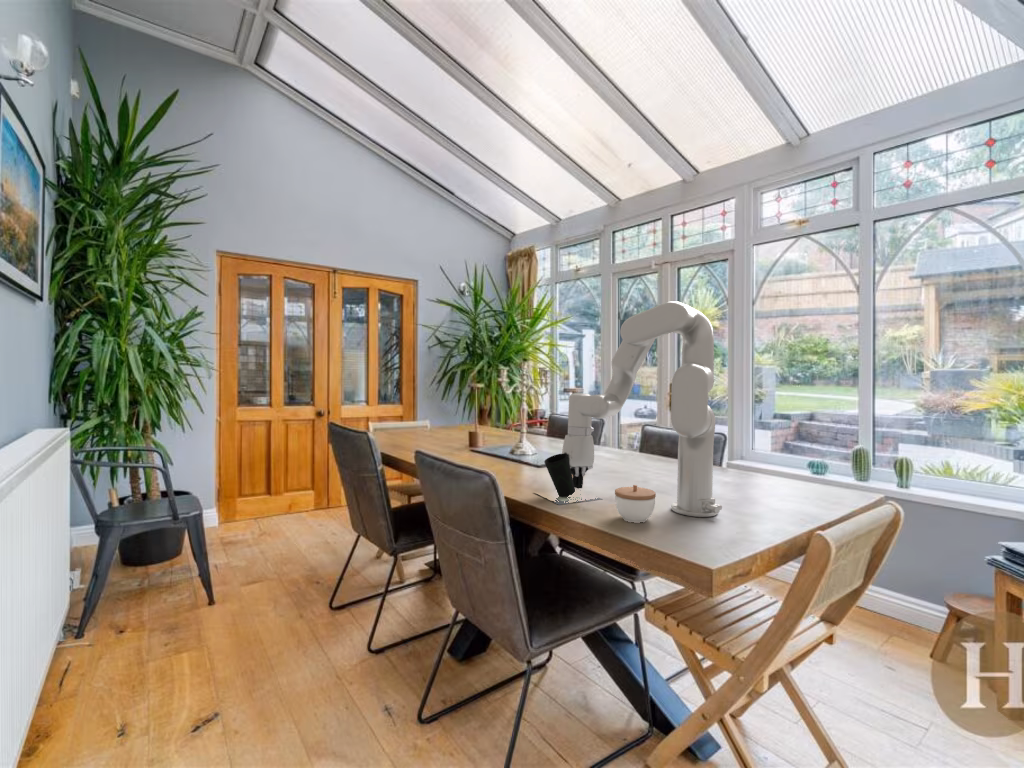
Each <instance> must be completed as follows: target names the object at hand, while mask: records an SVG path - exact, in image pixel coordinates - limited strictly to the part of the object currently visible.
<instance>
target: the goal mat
mask: <svg viewBox="0 0 1024 768" xmlns="http://www.w3.org/2000/svg"><path fill="white" fill-rule="evenodd" d="M580 495H581V494H580ZM567 497H568V496H566V497H560V496H559V497H558V498H556V499H557V500H558V501H559V502H558V501H557V500H555V501H556V502H554V503H553V504H555V503H556V504H555V505H557V504H558V506H562V504H564V505H570V504H569V502H568V501H569V499H570V498H571V497H568V498H569V499H568V498H567ZM573 498H574V497H573ZM576 498H577V499H578V498H579V499H580V497H576ZM576 498H575V500H576ZM599 499H601V500H602V498H601V497H598V498H597V499H596V498H595V500H594V501H599ZM570 500H572V499H570ZM573 500H574V499H573ZM581 500H582V497H581ZM585 500H586V499H585ZM592 500H593V499H592ZM592 500H591V499H590V500H588V501H587V500H586V502H591V501H592ZM564 501H565V503H564ZM577 501H578V500H577ZM577 501H576V503H575V504H578V503H577ZM566 502H568V503H566ZM578 502H579V501H578ZM592 502H593V501H592ZM579 503H583V502H582V501H580V502H579Z"/></svg>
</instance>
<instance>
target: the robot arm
mask: <svg viewBox="0 0 1024 768" xmlns="http://www.w3.org/2000/svg"><path fill="white" fill-rule="evenodd" d="M619 332H620V337H621V339H622V340H621V343H620V344H619V345H618V346H619V347H618V348H617V350H616V351H615V353H614V355H613V357H612V359H611V368H612V377H611V380H610V382H609V384H608V386H607V388H606V390H605V392H604V393H601V394H593V395H592V394H589V393H582V392H580V393H579V392H577V393H575V392H574V393H570V395H569V398H568V413H567V414H568V418H567V434H565V435H564V436H565V437H564V440H563V443H562V444H563V445H562V452H561V454H567V455H568V460H569V464H570V469H571V473H572V478H573V482H574V487H575V489H578V490H580V489H583V485H584V477H585V475H586V473H587V471H589V470H592V469H593V468H594V466H593V465H594V462H595V445H594V444H595V443H594V437H593V435H592V433H593V432H594V431H595V428H594V427H592V419H593V418H594V419H605V418H610V417H614V416H616V415H617V414H618V413H619V412H620V411H621V410H622V408H623V406H624V405H625V402H626V401H627V399H628V398H629V396H630V393H631V392H632V389H633V386H634V383H635V381H636V377H637V374H638V371H639V369H640V368H641V365H642V364H643V362H644V360H645V358H646V357H647V355H648V354H649V351H650V349H651V348H652V346H653V344H654V342H655V340H656V339H657V338H659V337H662V336H665V335H668V334H671V333H675V334H677V335H678V334H679V335H681V337H682V349H681V350H682V352H681V366H679V367H678V368H677V369H676V370H675V372H674V373H673V377H672V380H671V391H670V392H671V393H670V394H671V396H670V397H671V400H670V421H671V422H670V423H671V426H672V428H673V431H675V433H676V434H678V442H677V443H678V445H677V479H676V480H677V488H676V489H677V490H676V494H677V495H676V502H673V503H672V504H671V507H670V509H671V510H672V511H673V512H674V513H677V514H680V515H682V516H688V517H696V518H698V517H699V518H706V517H708V518H709V517H713V516H716V515H718V514H719V513H720V511H722V509H723V506H722V505H721V504H718V503H716V498H715V497H713V486H714V485H713V484H714V483H713V481H714V480H713V478H714V476H713V475H714V446H715V445H714V443H715V442H714V441H715V431H716V416H715V412H714V410H713V409H712V408H711V407H710V405H708V404H709V393H710V392H711V390H712V389H713V387H714V382H715V379H714V377H715V375H714V373H715V372H714V371H715V370H714V368H715V367H714V366H715V365H714V363H715V354H714V351H715V347H714V346H715V339H714V329H713V326H712V324H711V321H710V320H709V318H707V316H706V315H704V314H703V313H702V312H701V311H699V310H697V309H695V308H693V307H691V306H690V305H688V304H685V303H682V302H680V301H676V300H675V301H674V300H673V301H668V302H667V301H666V302H664V303H660V304H659V305H657V306H654V307H651V308H649V309H646V310H644V311H641V312H639V313H637V314H634V315H632V316H630V317H628V318H627V319H625V320H624V322H623V323H622V324H621V327H620V331H619Z"/></svg>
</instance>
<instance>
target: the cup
mask: <svg viewBox="0 0 1024 768" xmlns="http://www.w3.org/2000/svg"><path fill="white" fill-rule="evenodd" d="M543 462H544V464H545V467H546V470H547V472H548V474H549V476H550V479H551V481H552V483H553V485H554V488H555V490H557V493H558V495H559V496H560V497H566V496H569V495H572V494H573V493H574V492H575V489H576V488H575V487H574V482H573V475H572V473H571V469H570V464H569V460H568V455H567V454H562V453H558V454H554V455H552V456H549V457H547V458H546V459H545V460H544V461H543Z"/></svg>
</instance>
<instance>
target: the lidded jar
mask: <svg viewBox="0 0 1024 768" xmlns="http://www.w3.org/2000/svg"><path fill="white" fill-rule="evenodd" d="M614 495H615V497H614V498H615V500H614V502H615V508H616V510H617V513H618V514H619V515H620V516H621V517H622V519H624V520H623V521H624V522H627V521H628V523H631V522H634V523H633V524H641V523H640V522H643V523H646V522H647V520H648V519H649V518H650V517H651V516H652V515H653V513H654V510H655V505H656V497H657V495H656V492H655V491H654V490H652V489H650V488H645V487H638V485H637V484H633V485H632V486H623V487H618V488H616V489H614ZM645 521H646V522H645Z"/></svg>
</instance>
